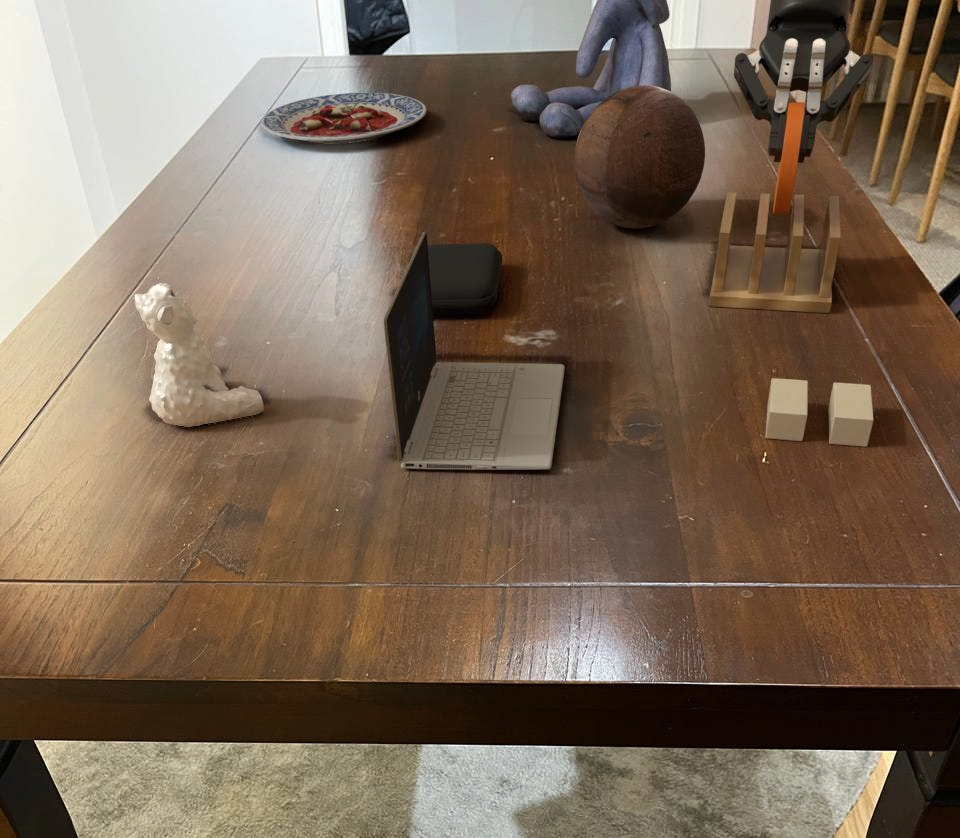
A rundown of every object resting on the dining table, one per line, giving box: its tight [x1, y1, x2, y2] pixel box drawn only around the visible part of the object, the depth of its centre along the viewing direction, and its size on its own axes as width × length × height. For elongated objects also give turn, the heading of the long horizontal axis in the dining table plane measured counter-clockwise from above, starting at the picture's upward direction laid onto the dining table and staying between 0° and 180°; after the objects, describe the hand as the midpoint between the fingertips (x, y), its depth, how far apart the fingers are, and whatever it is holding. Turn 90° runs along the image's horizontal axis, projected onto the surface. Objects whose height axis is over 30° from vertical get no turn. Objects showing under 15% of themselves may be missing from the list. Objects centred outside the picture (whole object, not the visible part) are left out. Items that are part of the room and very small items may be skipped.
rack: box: [708, 191, 842, 314], centre depth 105 cm, size 12×14×7 cm
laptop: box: [383, 230, 566, 471], centre depth 84 cm, size 18×12×13 cm
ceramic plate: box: [261, 92, 427, 144], centre depth 158 cm, size 26×26×3 cm
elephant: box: [510, 0, 672, 139], centre depth 151 cm, size 21×25×21 cm
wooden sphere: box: [574, 85, 706, 229], centre depth 117 cm, size 15×15×15 cm
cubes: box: [764, 377, 874, 448], centre depth 84 cm, size 8×6×2 cm
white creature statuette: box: [134, 282, 265, 427], centre depth 87 cm, size 10×9×12 cm
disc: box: [772, 101, 805, 215], centre depth 100 cm, size 2×10×10 cm, turn 166°
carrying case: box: [428, 242, 503, 316], centre depth 108 cm, size 11×3×15 cm
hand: (789, 157), depth 97 cm, fingers closed on disc, 1 cm apart
